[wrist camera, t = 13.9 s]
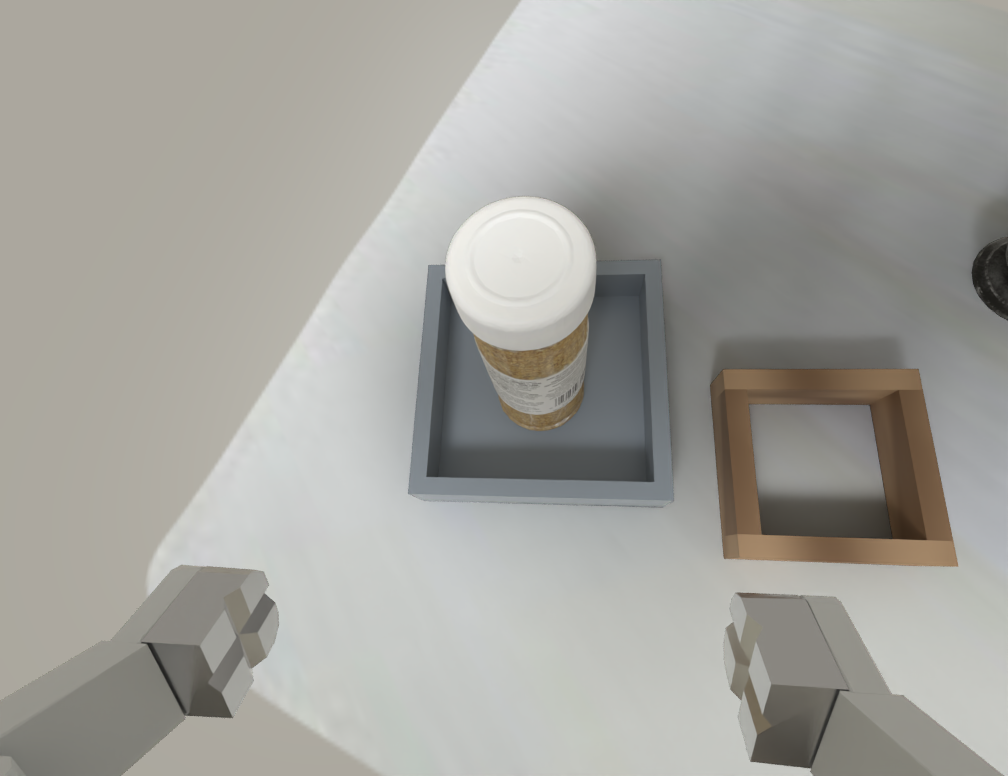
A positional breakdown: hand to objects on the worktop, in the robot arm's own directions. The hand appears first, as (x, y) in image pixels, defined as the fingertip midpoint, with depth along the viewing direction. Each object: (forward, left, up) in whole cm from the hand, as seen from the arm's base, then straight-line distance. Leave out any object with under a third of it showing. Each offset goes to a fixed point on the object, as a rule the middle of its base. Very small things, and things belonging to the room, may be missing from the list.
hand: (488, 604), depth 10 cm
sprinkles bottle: (0, -9, -17) cm, 20 cm away
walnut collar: (-13, -5, -18) cm, 23 cm away
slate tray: (0, -9, -18) cm, 20 cm away
